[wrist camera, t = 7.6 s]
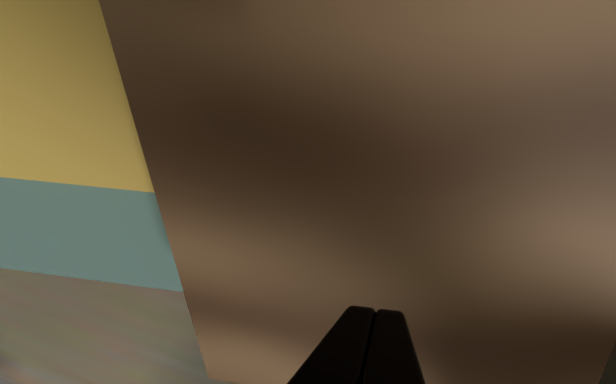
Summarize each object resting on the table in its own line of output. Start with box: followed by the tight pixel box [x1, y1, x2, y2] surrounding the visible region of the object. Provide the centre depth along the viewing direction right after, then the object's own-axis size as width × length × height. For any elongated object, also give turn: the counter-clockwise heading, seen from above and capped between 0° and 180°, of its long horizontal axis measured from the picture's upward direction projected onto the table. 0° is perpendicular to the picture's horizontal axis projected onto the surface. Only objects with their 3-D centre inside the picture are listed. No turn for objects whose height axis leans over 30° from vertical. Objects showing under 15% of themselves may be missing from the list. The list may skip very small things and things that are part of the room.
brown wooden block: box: [99, 0, 616, 384], centre depth 14 cm, size 20×12×4 cm, turn 4°
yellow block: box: [0, 0, 155, 193], centre depth 17 cm, size 7×8×2 cm
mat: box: [0, 177, 184, 292], centre depth 18 cm, size 20×13×1 cm, turn 4°
